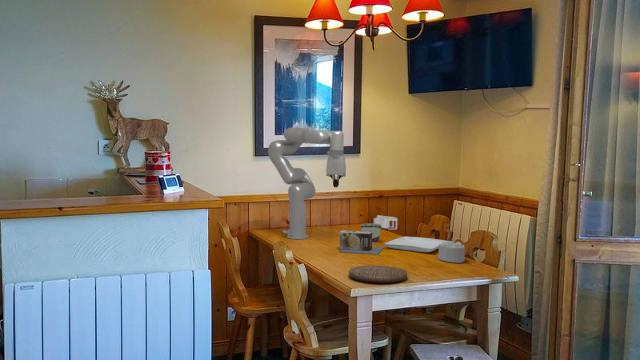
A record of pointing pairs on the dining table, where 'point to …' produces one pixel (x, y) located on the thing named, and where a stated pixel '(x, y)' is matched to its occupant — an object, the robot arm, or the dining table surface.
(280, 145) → the robot arm
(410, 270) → the dining table surface
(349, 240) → the coffee box
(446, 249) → the lumpy-topped squat cylinder
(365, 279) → the trivet
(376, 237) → the food container
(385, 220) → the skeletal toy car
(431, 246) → the square plate
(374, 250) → the mat
